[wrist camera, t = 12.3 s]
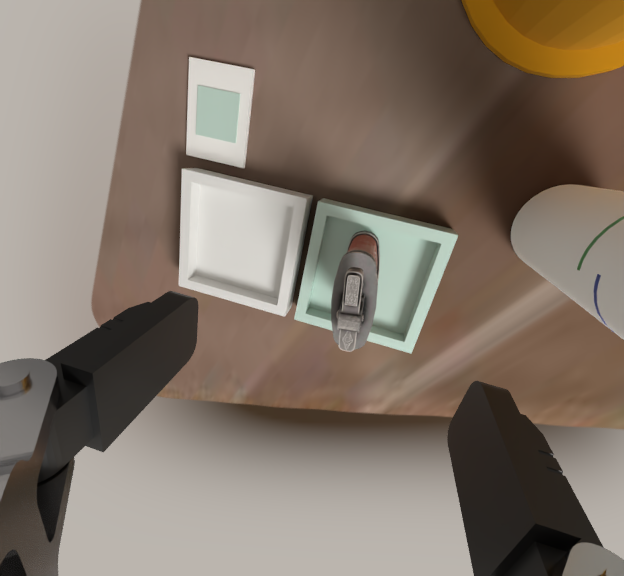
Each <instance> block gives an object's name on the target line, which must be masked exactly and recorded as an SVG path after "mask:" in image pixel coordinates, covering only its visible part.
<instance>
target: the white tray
mask: <svg viewBox="0 0 624 576" xmlns="http://www.w3.org/2000/svg"><path fill="white" fill-rule="evenodd" d="M312 199H313V195H308V194H304V193H300V192H296V191H292V190H288V189H283V188H279V187H275V186H271V185H267V184H262V183H258V182H254V181H250V180H246V179H242V178H237V177H233V176H229V175H225V174H221V173H217V172H212V171H208V170H204V169H200V168H183V169H182V184H181V221H180V259H179V286H181V287H185V288H188V289H192V290H195V291H199V292H202V293H205V294H209V295H212V296H216V297H219V298H223V299H226V300H229V301H233V302H236V303H240V304H243V305H247V306H250V307H253V308H257V309H260V310H264V311H267V312H271V313H274V314H277V315H281V316H284V317H285V316H286V314H287V313H288V311H289V310H290V308H291V307H292V302H293V297H294V292H295V287H296V282H297V277H298V271H299V266H300V261H301V256H302V251H303V246H304V240H305V235H306V230H307V225H308V220H309V215H310V209H311V204H312Z"/></svg>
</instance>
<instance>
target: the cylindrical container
mask: <svg viewBox="0 0 624 576" xmlns="http://www.w3.org/2000/svg"><path fill="white" fill-rule="evenodd" d="M511 244H512V246H513V249H514V251H515V253H516V254H517V256H518V257H519V258H520V259H521V260H522V261H523V262H525V263H526V264H527V265H529V266H530V267H531V268H532V269H534V270H535V271H536V272H538V273H539V274H540V275H541V276H543V277H544V278H545V279H547V280H548V281H549V282H551V283H552V284H553V285H554V286H556V287H557V288H558V289H559V290H561V291H562V292H563V293H565V294H566V295H567V296H568V297H570V298H571V299H572V300H574V301H575V302H576V303H577V304H579V305H580V306H581V307H582V308H584V309H585V310H586V311H588V312H589V313H590V314H591V315H593V316H594V317H595V318H597V319H598V320H599V321H600V322H602V323H603V324H604V325H605V326H607V327H608V328H609V329H611V330H612V331H613V332H615V333H616V334H617V335H618V336H620V337H621V338H622V339H623V340H624V191H617V190H611V189H604V188H597V187H590V186H583V185H573V184H568V185H559V186H555V187H552V188H549V189H547V190H544V191H542V192H540V193H539V194H537V195H535V196H534V197H532V198H531V199H530V200H529V201H528V202H527V203H526V204H524V206H523V207H522V208H521V209H520V211H519V212H518V214H517V215H516V217H515V219H514V221H513V225H512V228H511Z"/></svg>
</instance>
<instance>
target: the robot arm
mask: <svg viewBox="0 0 624 576" xmlns="http://www.w3.org/2000/svg"><path fill="white" fill-rule="evenodd" d="M197 323H198V301H197V299H196V298H194V297H190V296H187V295H183V294H180V293H177V292H173V291H169V292H167V293H165V294H164V295H162V296H161V297H159V298H158V299H156V300H155V301H153V302H152V303H150V302H146V303H143V304H140V305H137V306H134V307H131V308H128V309H127V310H125V311H123V312H122V313H120V314H119V315H117V316H115V317H114V319H113V320H111V319H110V320H109V321H107V322H106V323H104V324H102V325H101V327H100V328H96V329H95V330H93V331H91V332H90V333H88V334H87V335H85V336H84V337H82V338H80V339H78V340H77V341H75V342H74V343H72V344H70V345H69V346H67V347H66V348H64V349H62V350H61V351H59V352H58V353H56V354H54V355H53V356H51V357H50V358H48V359H46V360H41V359H31V358H29V359H17V360H12V361H7V362H3V363H0V576H58V554H59V546H60V541H61V535H62V530H63V525H64V519H65V514H66V508H67V503H68V497H69V492H70V486H71V480H72V476H73V470H74V463H75V460H74V456H75V455H76V454H77V453H78V452H79V451H80V450H81V449H82V448H83V447H84V446H88V447H90V448H93V449H96V450H99V451H102V452H104V451H105V450H106V449H107V448H108V447H109V446H110V445H111V444H112V442H113V441H114V440H115V439H116V438H117V437H118V436H119V435H120V434H121V433H122V432H123V431H124V429H126V427H127V426H128V425H129V424H130V423H131V422H132V421H133V420H134V419H135V418H136V417H137V416H138V414H139V413H140V412H141V411H142V410H143V409H144V408H145V407H146V406H147V405H148V404H149V403H150V402H151V401H152V400H153V398H154V397H155V396H156V395H157V394H158V393H159V392H160V391H161V390H162V389H163V388H164V387H165V386H166V385H167V383H168V382H169V381H170V380H171V379H172V378H173V377H174V376H175V375H176V374H177V373H178V372H179V371H180V370H181V368H182V367H183V366H184V365H185V364H186V363H187V362H188V361H189V359H190V358H191V356H192V354H193V352H194V350H195V347H196V342H197ZM448 447H449V452H450V457H451V462H452V467H453V472H454V477H455V482H456V487H457V492H458V497H459V502H460V507H461V512H462V517H463V522H464V527H465V532H466V537H467V542H468V547H469V552H470V557H471V563H472V568H473V573H474V576H624V560H623V559H622V558H620V557H619V556H617V555H616V554H614V553H612V552H611V551H609V550H607V549H605V548H604V547H603V546H602V544H601V542H600V540H599V538H598V536H597V534H596V533H595V531H594V529H593V527H592V525H591V523H590V522H589V520H588V518H587V516H586V514H585V512H584V510H583V508H582V506H581V505H580V503H579V501H578V499H577V497H576V496H575V493H574V492H573V490H572V488H571V486H570V484H569V482H568V480H567V478H566V477H565V476H563V475H562V473H563V471H562V469H561V467H560V466H559V464H558V462H557V460H556V459H555V458H553V452H552V450H551V449H550V447H549V445H548V443H547V441H546V439H545V437H544V436H543V434H542V433H541V432H540V431H539V430H538V429H537V427H536V426H535V425H534V424H533V423H532V422H531V421H530V420H529V419H528V418H527V416H526V415H522V414H520V412H519V410H518V408H517V406H516V404H515V402H514V400H513V398H512V396H511V394H510V392H509V391H508V390H506V389H503V388H500V387H496V386H493V385H489V384H486V383H483V382H479V381H475V382H473V383H472V384H471V385H470V387H469V389H468V391H467V392H466V394H465V396H464V398H463V400H462V402H461V403H460V405H459V407H458V409H457V411H456V413H455V415H454V416H453V418H452V421H451V423H450V426H449V430H448Z"/></svg>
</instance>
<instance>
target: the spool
mask: <svg viewBox="0 0 624 576" xmlns="http://www.w3.org/2000/svg"><path fill="white" fill-rule="evenodd" d="M461 1H462V4H463V6H464V8H465V11H466V13H467V16H468V18H469V21H470V23H471V26H472V27H473V29H474V30H475V32H476V33H477V34H478V36H479V37H480V39H481V40H482V41H483V43H484V44H485V46H486V47H487V48H488V49H490V50H491V51H492V52H493V53H494V54H495V55H497V56H498V57H499V58H500V59H501V60H502V61H504V62H505V63H507V64H509V65H511V66H514V67H516V68H518V69H520V70H522V71H524V72H526V73H530V74H535V75H540V76H544V77H549V78H579V77H584V76H589V75H594V74H599V73H604V72H608V71H611V70H614V69H616V68H619V67H622V66H624V0H461Z"/></svg>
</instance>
